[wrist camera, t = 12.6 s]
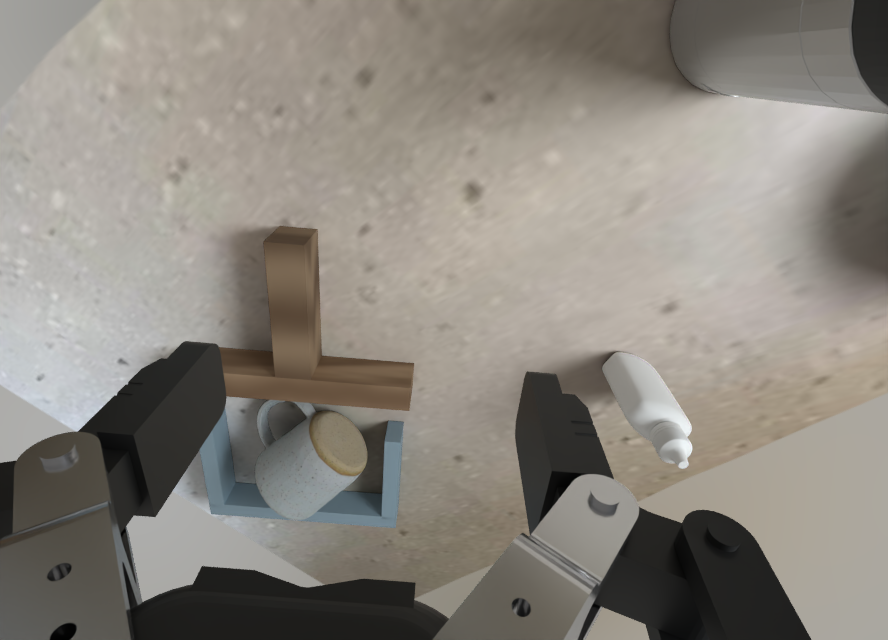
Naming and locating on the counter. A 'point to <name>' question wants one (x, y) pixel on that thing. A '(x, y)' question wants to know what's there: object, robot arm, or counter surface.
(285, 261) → the scraper
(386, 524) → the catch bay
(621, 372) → the eye dropper bottle
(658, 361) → the counter surface
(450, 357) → the counter surface
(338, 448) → the ceramic mug
